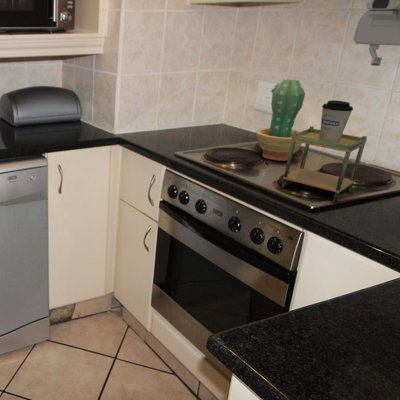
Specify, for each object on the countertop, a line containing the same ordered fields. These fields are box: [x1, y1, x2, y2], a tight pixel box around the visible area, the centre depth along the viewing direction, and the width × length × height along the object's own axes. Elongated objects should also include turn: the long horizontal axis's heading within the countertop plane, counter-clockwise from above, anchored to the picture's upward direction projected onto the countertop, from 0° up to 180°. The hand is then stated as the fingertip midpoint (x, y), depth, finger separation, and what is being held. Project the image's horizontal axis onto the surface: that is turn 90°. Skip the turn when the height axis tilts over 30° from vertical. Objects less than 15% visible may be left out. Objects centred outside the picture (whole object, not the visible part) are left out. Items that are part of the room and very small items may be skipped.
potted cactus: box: [255, 78, 306, 162], centre depth 154 cm, size 15×15×25 cm
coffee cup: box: [319, 99, 354, 143], centre depth 123 cm, size 7×7×10 cm
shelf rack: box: [280, 125, 368, 204], centre depth 128 cm, size 14×12×16 cm
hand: (399, 67), depth 107 cm, fingers open, 8 cm apart
